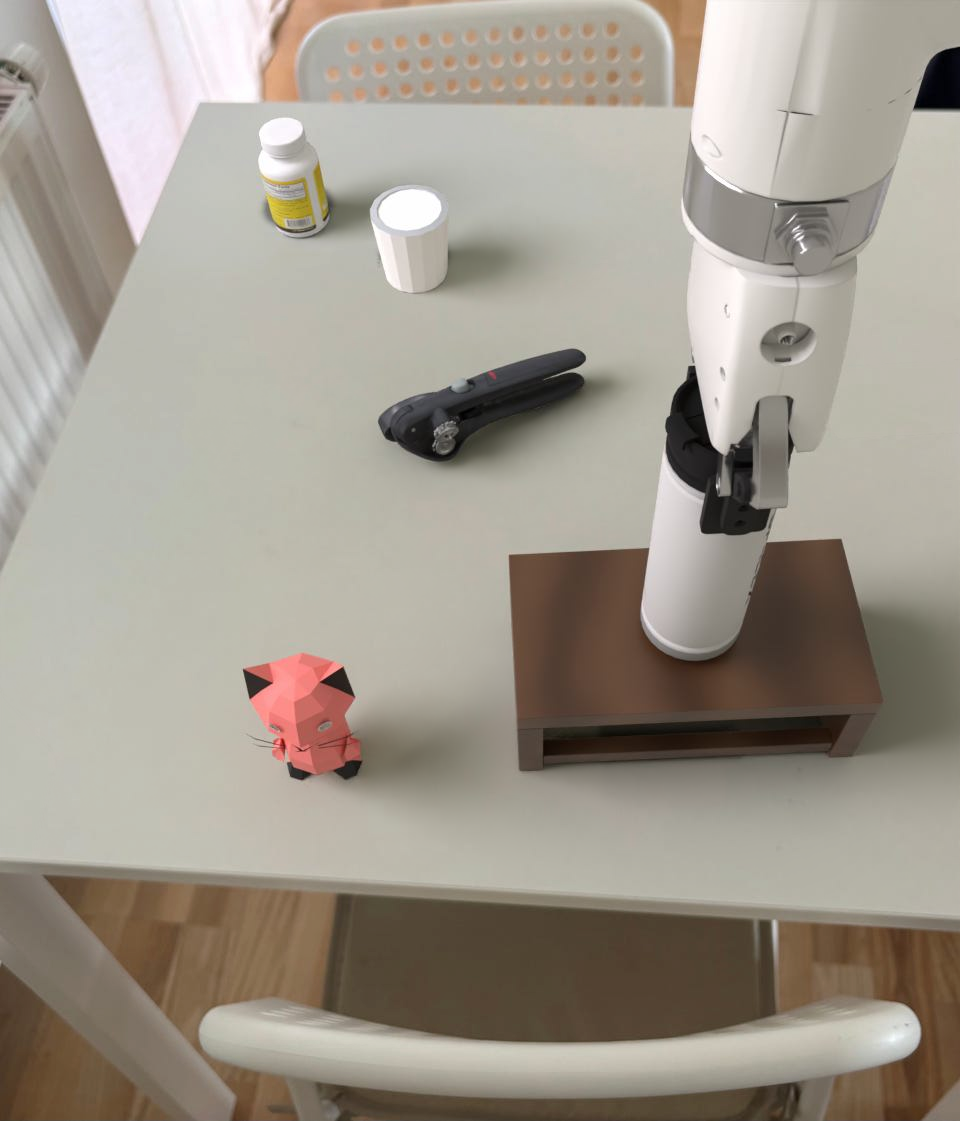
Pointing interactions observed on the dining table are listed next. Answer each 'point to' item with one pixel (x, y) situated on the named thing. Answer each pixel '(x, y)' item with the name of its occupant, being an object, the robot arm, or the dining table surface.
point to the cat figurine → (306, 714)
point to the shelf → (680, 685)
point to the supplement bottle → (292, 178)
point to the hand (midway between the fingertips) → (721, 470)
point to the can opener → (479, 403)
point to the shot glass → (412, 236)
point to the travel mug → (696, 545)
